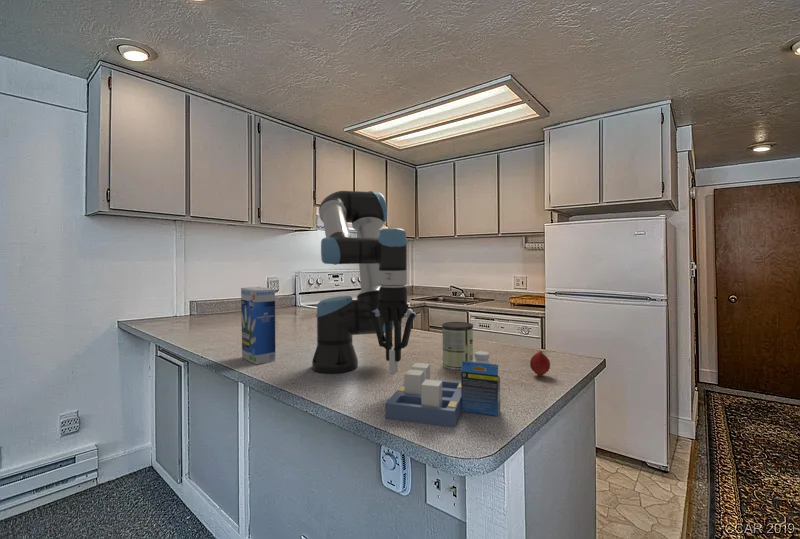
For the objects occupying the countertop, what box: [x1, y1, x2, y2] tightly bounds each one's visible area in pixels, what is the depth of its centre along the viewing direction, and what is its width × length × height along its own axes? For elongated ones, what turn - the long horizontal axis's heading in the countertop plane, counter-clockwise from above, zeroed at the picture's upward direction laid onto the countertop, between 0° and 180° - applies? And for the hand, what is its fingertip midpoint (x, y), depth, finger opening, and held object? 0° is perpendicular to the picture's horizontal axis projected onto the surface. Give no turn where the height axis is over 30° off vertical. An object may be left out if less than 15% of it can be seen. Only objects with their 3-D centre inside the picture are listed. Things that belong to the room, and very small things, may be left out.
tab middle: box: [403, 369, 424, 395], centre depth 98 cm, size 4×4×6 cm
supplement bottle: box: [473, 350, 493, 371], centre depth 111 cm, size 5×5×10 cm
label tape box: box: [460, 361, 501, 417], centre depth 94 cm, size 9×4×12 cm, turn 68°
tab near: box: [421, 379, 442, 408], centre depth 90 cm, size 4×4×6 cm
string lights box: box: [240, 286, 276, 365], centre depth 142 cm, size 13×8×26 cm, turn 43°
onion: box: [529, 350, 551, 377], centre depth 121 cm, size 6×6×8 cm
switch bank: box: [384, 378, 462, 428], centre depth 97 cm, size 16×20×4 cm
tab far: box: [411, 362, 431, 381], centre depth 105 cm, size 4×4×6 cm
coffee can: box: [441, 321, 474, 371], centre depth 132 cm, size 10×10×14 cm
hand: (393, 372), depth 107 cm, fingers closed
